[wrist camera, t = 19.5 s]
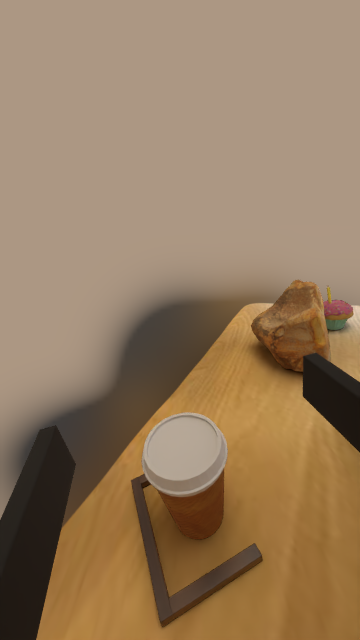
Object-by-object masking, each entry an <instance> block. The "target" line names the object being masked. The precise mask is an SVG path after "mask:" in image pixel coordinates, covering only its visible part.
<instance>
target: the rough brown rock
mask: <svg viewBox="0 0 360 640" xmlns="http://www.w3.org/2000/svg"><path fill="white" fill-rule="evenodd" d="M251 327H252V331H253V333H254V334H255V335H256V337H257V338H258V340H259V341H261V342H262V343H263V344H264V345H265V346H266V347H267V348H268V349H269V350H270V352H271V353H272V355H273V357H274V358H275V359H276V361H277V362H278V363H279V364H280V365H281V366H282V367H284V368H285V369H292V370H294V371H301V372H303V356H305V355H309V354H312V353H318V354H319V355H320V356H322V357H323V358H325V359H326V360H328V361H330V358H331V353H330V345H329V337H328V331H327V326H326V320H325V315H324V304H323V299H322V296H321V293H320V290H319V288H318V286H317V285H316V284H315V283H312V282H302V281H300V280H295V281H294V282H293V283H292V284H291V285H290V286H289V287H288V288H287V289H286V290H285V291H284V293H283V295H282V296H280V298H279V299H278V300H277V301H276V302H275V303H274V305H273V306H272V307H270V308H269V309H267V310H266V311H264V312H262V313H261V314H259V315H258V316H257V317H256V318H255V319H254V320H253V323H252V325H251Z"/></svg>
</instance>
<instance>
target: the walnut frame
mask: <svg viewBox="0 0 360 640" xmlns="http://www.w3.org/2000/svg"><path fill="white" fill-rule="evenodd" d="M131 482H132V487H133V492H134V497H135V502H136V507H137V512H138V516H139V521H140V526H141V531H142V536H143V541H144V546H145V551H146V556H147V560H148V565H149V570H150V575H151V580H152V585H153V590H154V595H155V600H156V604H157V609H158V614H159V619H160V623H161V625H162V627H163V626H165V625H166V624H168V623H169V622H171V621H172V620H174V619H175V618H177V617H178V616H180V615H181V614H183V613H184V612H186V611H187V610H189V609H190V608H192V607H193V606H195V605H196V604H198V603H199V602H201V601H202V600H204V599H205V598H207V597H208V596H210V595H211V594H213V593H214V592H216V591H217V590H219V589H220V588H222V587H223V586H225V585H226V584H228V583H229V582H231V581H232V580H234V579H235V578H237V577H238V576H240V575H242V574H243V573H245V572H246V571H248V570H249V569H251V568H252V567H254V566H255V565H257V564H258V563H260V562H261V561H262V555H261V553H260V551H259V549H258V548H257V546H256V544H255V543H254V544H253V545H251V546H249V547H248V548H246V549H245V550H243V551H242V552H240V553H238V554H237V555H235V556H234V557H232V558H231V559H229V560H227V561H226V562H224V563H223V564H221V565H220V566H218V567H216V568H215V569H213V570H212V571H210V572H209V573H207V574H205V575H204V576H202V577H201V578H199V579H198V580H196V581H194V582H193V583H191V584H190V585H188V586H187V587H185V588H184V589H182V590H180V591H179V592H177V593H176V594H174V595H173V596H171V597H169V596H168V591H167V587H166V583H165V579H164V575H163V571H162V567H161V563H160V558H159V554H158V550H157V546H156V542H155V538H154V534H153V530H152V526H151V521H150V517H149V513H148V509H147V505H146V501H145V497H144V493H143V489H142V488H143V487H145V486H147V485H149V484H151V483H150V482H149V481H148V479H147V478H146V476H145V474H143V475H141V476H139V477H137V478H135V479H133V480H131Z"/></svg>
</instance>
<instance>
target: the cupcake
mask: <svg viewBox="0 0 360 640" xmlns="http://www.w3.org/2000/svg"><path fill="white" fill-rule="evenodd" d="M327 286H328V285H327ZM327 293H328V301H325V302H323V304H324V315H325V320H326V326H327V329H329V330H339V329H342V328H343V327H344V324H345V323H346V321H347V319H348V318H350V317H352V316H353V307H351V305H349V304H348V303H346V302H344V301H342V300H340V301H339V300H331V293H330V288H329V287H328V288H327Z"/></svg>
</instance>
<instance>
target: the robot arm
mask: <svg viewBox="0 0 360 640" xmlns="http://www.w3.org/2000/svg"><path fill="white" fill-rule="evenodd" d="M303 397H304V398H305V399H306V400H307V401H308V402H309V403H310V404H311V405H312V406H313V407H314V408H315V409H316V410H317V411H318V412H319V413H320V414H321V415H322V416H323V417H324V418H325V419H326V420H327V421H328V422H329V423H330V424H332V425H333V426H334V427H335V428H336V429H337V430H338V431H339V432H340V433H341V434H342V435H343V436H344V437H345V438H346V439H347V440H348V441H349V442H350V443H351V444H352V445H353V446H354V447H355V448H356V449H357V450H358V451H359V452H360V382H359V381H357V380H356V379H354V378H353V377H351V376H350V375H348V374H347V373H345V372H344V371H342V370H341V369H340V368H338V367H337V366H335V365H334V364H332V363H331V362H329V361H328V360H326V359H325V358H323V357H322V356H320V355H319V354H318V353H312V354H309V355H305V356H303ZM75 465H76V464H75V462H74V460H73V458H72V456H71V454H70V452H69V450H68V448H67V446H66V444H65V442H64V440H63V438H62V436H61V434H60V432H59V430H58V428H57V426H52V427H48V428H45V429H42V430H40V431H39V433H38V435H37V438H36V440H35V442H34V445H33V447H32V449H31V451H30V454H29V456H28V458H27V461H26V463H25V465H24V467H23V470H22V472H21V474H20V477H19V479H18V481H17V483H16V486H15V488H14V490H13V493H12V495H11V497H10V499H9V501H8V504H7V506H6V508H5V511H4V513H3V515H2V517H1V520H0V640H36V638H37V633H38V629H39V624H40V620H41V616H42V611H43V607H44V602H45V598H46V593H47V589H48V585H49V580H50V576H51V571H52V567H53V563H54V558H55V554H56V549H57V545H58V540H59V536H60V532H61V527H62V522H63V518H64V514H65V509H66V505H67V501H68V496H69V492H70V487H71V483H72V478H73V474H74V470H75Z"/></svg>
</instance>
